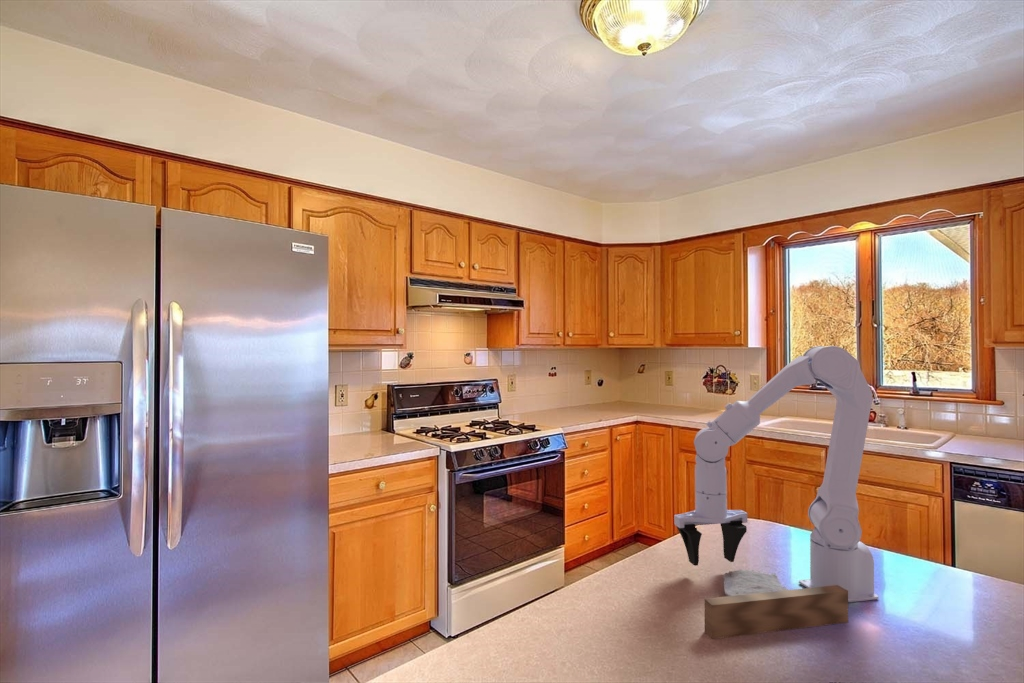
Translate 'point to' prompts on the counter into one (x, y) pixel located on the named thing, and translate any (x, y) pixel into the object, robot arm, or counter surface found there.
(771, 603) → the walnut wall
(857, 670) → the counter surface
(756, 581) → the stone block
